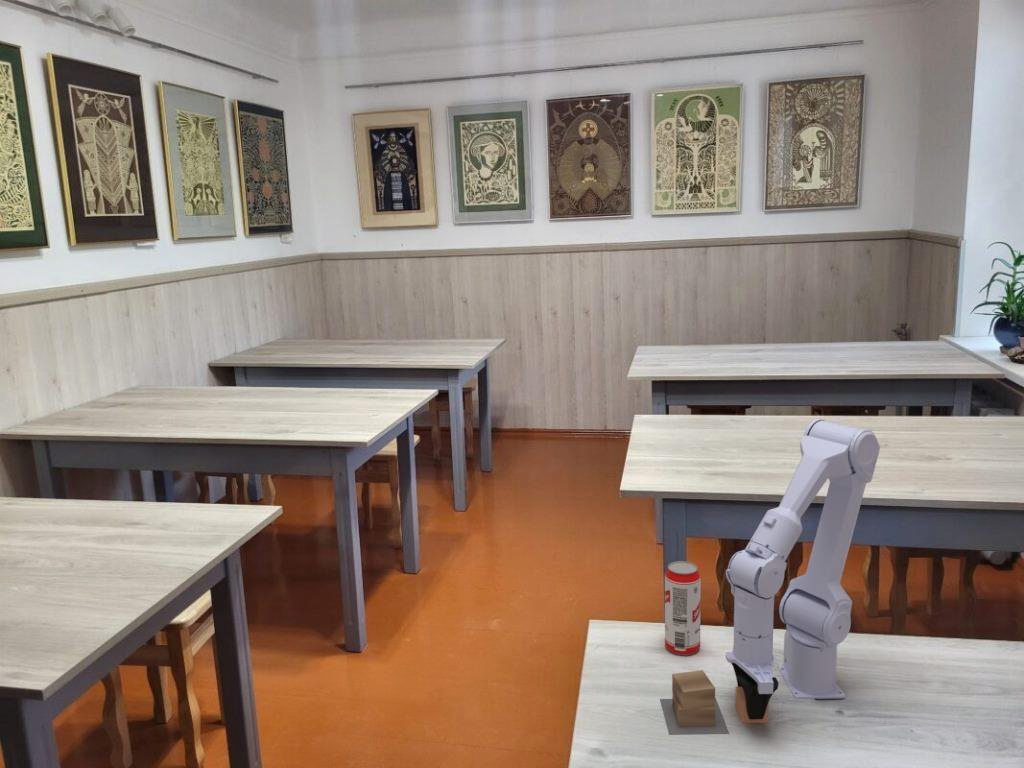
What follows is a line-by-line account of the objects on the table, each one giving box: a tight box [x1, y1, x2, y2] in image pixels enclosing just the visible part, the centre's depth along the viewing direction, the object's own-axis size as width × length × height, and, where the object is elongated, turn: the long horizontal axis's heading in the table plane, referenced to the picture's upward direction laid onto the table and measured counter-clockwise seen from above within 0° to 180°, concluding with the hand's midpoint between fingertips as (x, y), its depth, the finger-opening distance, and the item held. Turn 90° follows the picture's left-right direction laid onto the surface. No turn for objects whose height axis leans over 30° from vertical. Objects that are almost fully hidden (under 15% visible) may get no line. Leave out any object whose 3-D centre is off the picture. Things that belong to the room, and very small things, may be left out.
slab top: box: [671, 669, 716, 710], centre depth 120 cm, size 5×5×3 cm
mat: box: [659, 697, 730, 736], centre depth 121 cm, size 9×9×1 cm
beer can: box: [664, 560, 702, 656], centre depth 139 cm, size 6×6×16 cm
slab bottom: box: [671, 690, 715, 727], centre depth 121 cm, size 6×6×3 cm
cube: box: [734, 686, 770, 724], centre depth 121 cm, size 4×4×4 cm
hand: (751, 708), depth 121 cm, fingers closed on cube, 4 cm apart
